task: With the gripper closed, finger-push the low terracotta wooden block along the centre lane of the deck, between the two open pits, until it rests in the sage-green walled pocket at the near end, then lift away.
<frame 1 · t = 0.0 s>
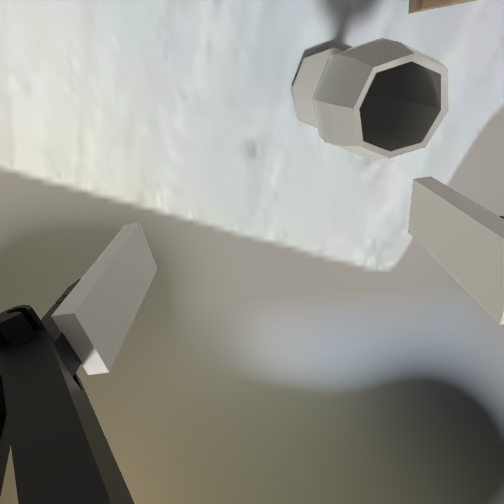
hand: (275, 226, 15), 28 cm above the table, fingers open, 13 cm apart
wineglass: (326, 90, 37), on the table
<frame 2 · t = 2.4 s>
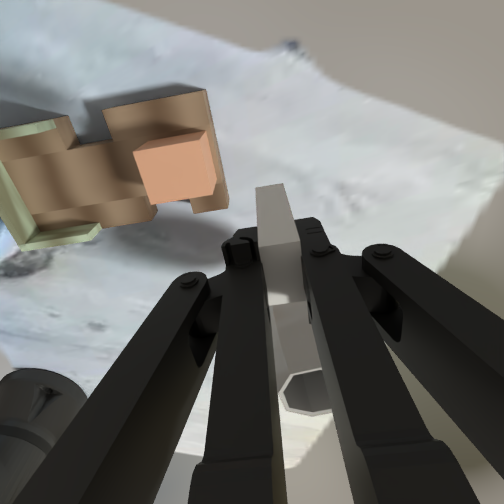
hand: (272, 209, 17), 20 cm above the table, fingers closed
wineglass: (286, 253, 42), on the table
block: (183, 160, 33), point 3 cm above the table, touching deck
deck: (120, 166, 36), on the table
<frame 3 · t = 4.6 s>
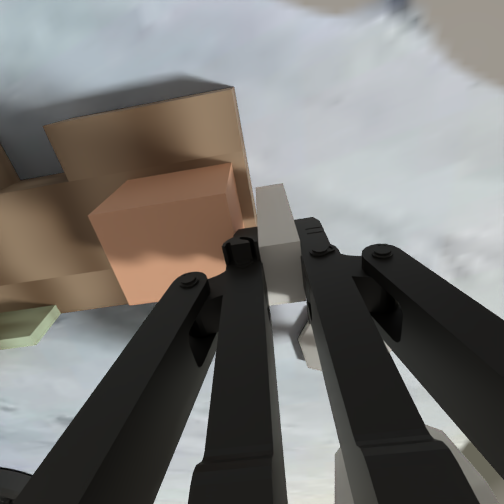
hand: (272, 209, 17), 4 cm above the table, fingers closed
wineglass: (345, 333, 28), on the table
block: (190, 212, 19), point 3 cm above the table, touching gripper
deck: (89, 213, 22), on the table
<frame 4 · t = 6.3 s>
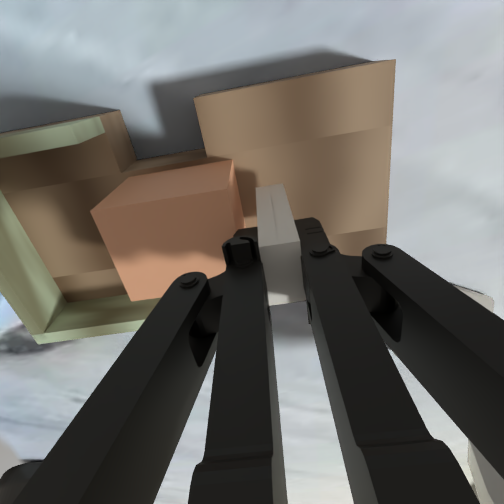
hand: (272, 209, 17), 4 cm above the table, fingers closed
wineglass: (435, 321, 28), on the table
block: (191, 209, 19), point 3 cm above the table, touching deck, gripper
deck: (201, 194, 21), on the table
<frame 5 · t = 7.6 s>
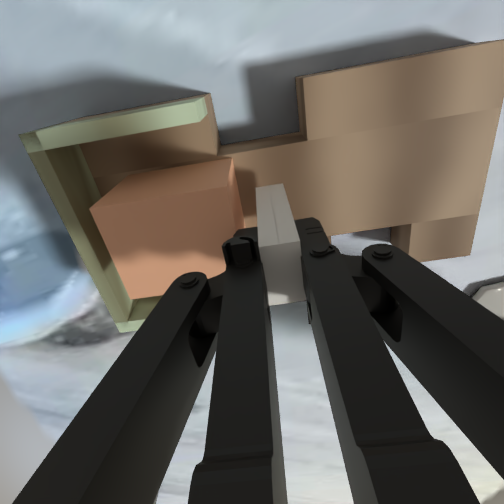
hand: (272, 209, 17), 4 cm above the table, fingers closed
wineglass: (500, 313, 27), on the table
block: (191, 207, 19), point 3 cm above the table, touching deck, gripper
deck: (281, 181, 21), on the table
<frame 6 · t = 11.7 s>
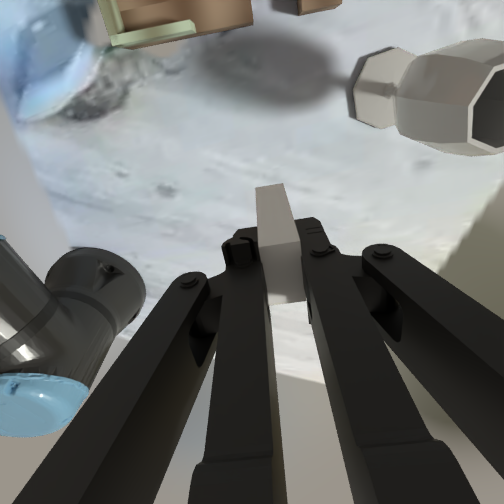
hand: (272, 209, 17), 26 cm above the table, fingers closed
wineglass: (386, 90, 38), on the table
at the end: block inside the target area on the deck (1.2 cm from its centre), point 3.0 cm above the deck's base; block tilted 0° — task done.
